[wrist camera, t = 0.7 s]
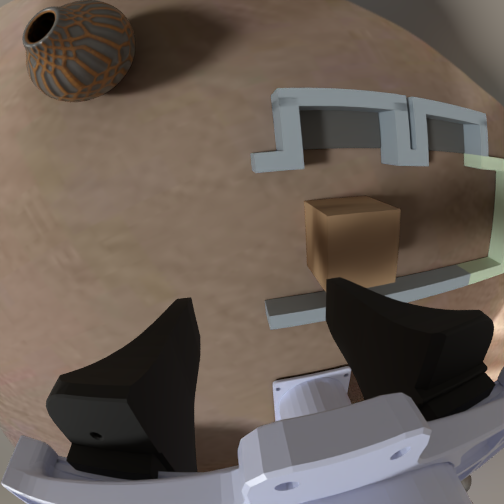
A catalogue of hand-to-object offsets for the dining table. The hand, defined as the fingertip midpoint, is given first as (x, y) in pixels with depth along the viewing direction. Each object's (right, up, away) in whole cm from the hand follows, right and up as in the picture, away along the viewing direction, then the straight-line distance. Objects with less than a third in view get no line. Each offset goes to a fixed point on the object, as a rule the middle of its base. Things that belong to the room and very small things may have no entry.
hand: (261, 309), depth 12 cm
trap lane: (+13, +7, +9) cm, 17 cm away
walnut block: (+6, +4, +9) cm, 12 cm away
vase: (-11, +16, +3) cm, 20 cm away
